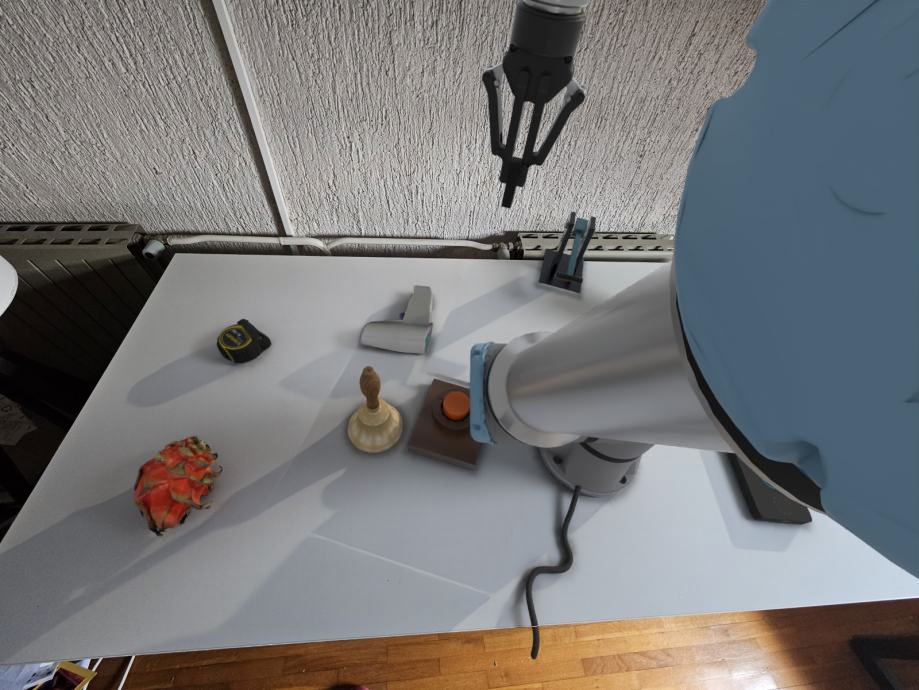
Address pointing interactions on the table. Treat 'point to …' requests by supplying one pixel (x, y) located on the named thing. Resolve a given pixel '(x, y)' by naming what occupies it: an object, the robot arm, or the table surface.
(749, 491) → the smart home device
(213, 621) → the table surface
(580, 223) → the switch lever
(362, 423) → the hand bell
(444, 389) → the control block
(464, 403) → the button
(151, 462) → the dragon fruit
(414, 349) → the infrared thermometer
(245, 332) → the tape measure
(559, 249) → the switch bracket
